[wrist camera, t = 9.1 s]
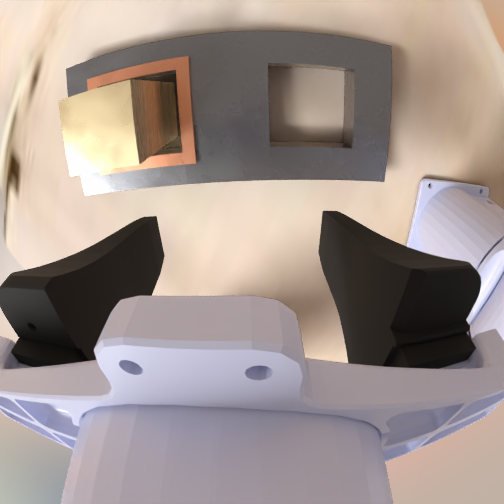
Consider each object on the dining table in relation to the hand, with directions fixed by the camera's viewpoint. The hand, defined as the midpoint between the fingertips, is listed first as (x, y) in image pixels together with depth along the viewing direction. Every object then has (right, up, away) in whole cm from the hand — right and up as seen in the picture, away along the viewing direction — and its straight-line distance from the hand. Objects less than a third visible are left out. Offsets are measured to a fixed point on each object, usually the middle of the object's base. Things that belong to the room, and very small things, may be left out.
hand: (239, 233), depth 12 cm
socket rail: (-1, +9, +5) cm, 11 cm away
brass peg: (-7, +9, +5) cm, 12 cm away
